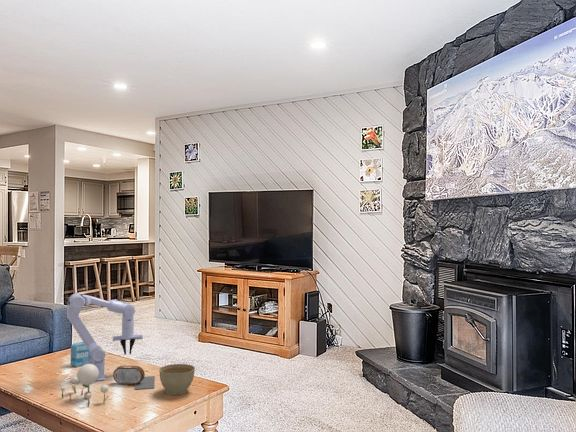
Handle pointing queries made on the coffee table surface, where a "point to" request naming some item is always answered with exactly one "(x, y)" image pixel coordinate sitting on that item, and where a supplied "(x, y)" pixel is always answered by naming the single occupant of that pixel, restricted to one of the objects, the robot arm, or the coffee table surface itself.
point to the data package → (79, 354)
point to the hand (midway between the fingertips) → (127, 353)
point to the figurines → (87, 381)
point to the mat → (146, 383)
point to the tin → (128, 374)
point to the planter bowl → (176, 378)
